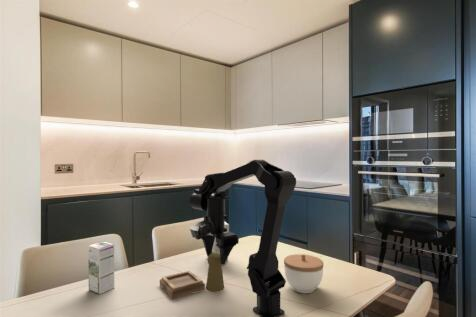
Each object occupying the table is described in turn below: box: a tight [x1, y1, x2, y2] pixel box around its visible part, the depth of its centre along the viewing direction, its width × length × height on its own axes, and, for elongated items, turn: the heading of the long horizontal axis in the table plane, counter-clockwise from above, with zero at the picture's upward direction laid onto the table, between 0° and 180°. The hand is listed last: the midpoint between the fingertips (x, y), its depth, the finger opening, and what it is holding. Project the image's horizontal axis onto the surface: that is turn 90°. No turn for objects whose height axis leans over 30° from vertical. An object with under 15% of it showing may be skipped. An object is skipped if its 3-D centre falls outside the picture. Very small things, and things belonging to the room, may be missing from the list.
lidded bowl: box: [283, 253, 324, 294], centre depth 96 cm, size 13×13×11 cm
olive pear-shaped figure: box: [205, 253, 225, 293], centre depth 96 cm, size 6×6×11 cm
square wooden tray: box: [159, 270, 206, 300], centre depth 96 cm, size 11×11×3 cm
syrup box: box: [87, 241, 115, 295], centre depth 94 cm, size 6×6×14 cm
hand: (215, 260), depth 96 cm, fingers open, 9 cm apart
